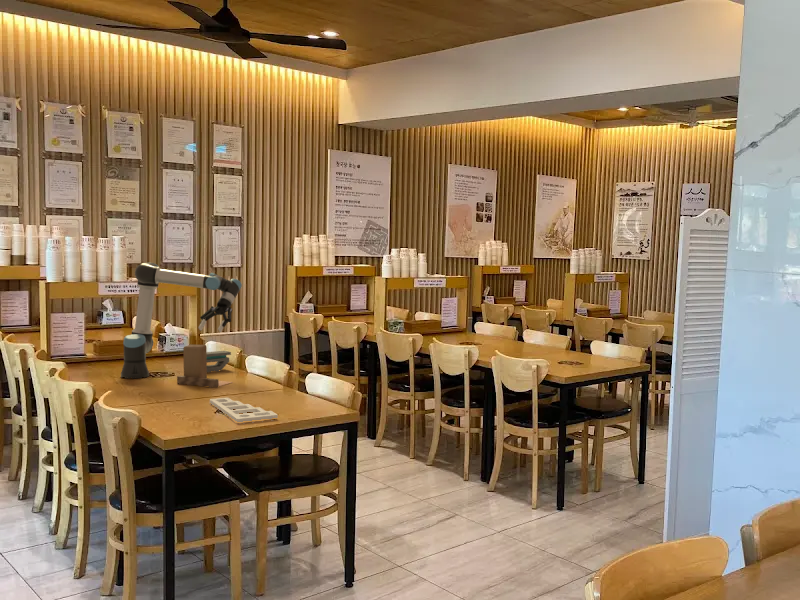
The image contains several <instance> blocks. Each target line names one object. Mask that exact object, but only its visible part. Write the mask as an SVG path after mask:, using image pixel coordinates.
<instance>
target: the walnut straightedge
mask: <svg viewBox="0 0 800 600" xmlns="http://www.w3.org/2000/svg"><path fill="white" fill-rule="evenodd" d="M176 379H177V380H176V381H177V382H176V383H179V384H178V385H185V384H187V386H194V385H198V386H197V387H203V386H209V387H208V388H213V387H216V388H219V387H218V386H219V381H220V380H219V378H210V377H209V378H208V377H207V378H200V377H190V376H184V375H178V376H176Z"/></svg>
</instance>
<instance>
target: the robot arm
mask: <svg viewBox="0 0 800 600" xmlns="http://www.w3.org/2000/svg"><path fill="white" fill-rule="evenodd" d="M134 276H135V279H136V280H137V284H136V285H137V286H138V287H139V290H138V291H139V292H138V297H137V298H138V300H137V307H136V309H137V310H136V318H135V325H134V326H135V327H134V329H132V330H131V334H128V335H125V336H124V338H123V343H122V344H123V365H122V370H121V372H120V378H122V377H125V378H124V379H130V378H132V379H143V378H142V377H144V378H147V377H150V371H149V370H148V366H147V363H146V359H147V357H146V356H147V355H146V354H148V353H149V352H150V351H151V350H152V348H153V346H154V340H153V335H154V333H153V331H152V329H151V326H152V320H153V319H152V318H153V311H154V302H155V294H156V293H155V292H156V290H157V288H159V283H162V284H168V285H169V284H171V285H176V286H177V285H178V286H186V287H190V288H191V287H193V288H200V289H205V290H206V289H207V290H211V291H215V290H219V291H221V292H223V293H222V294H221V296H220V298H219V299H218V301H217V304H216V306H215V307H214V306H210V308H209V309H208V310H207V311H205V312H204V313H203V314H202V315H201V316H200V317H199V318H200V319H201V321H200V322H199V325H198V327H197V328H198V329H199V331H200V332H201V331H203V329H204V327H205V325H206V324H207V321H209V320H210V319H212V318H213V317H215V316H222V317H223V320H222V321H221V322H220V325H219V326H218V328H217V330H218V331H219V333H221V332H222V331H223V329H224V328H225V327H226V326H227V323H231V322H232V313H233V308H232V307H231V306H232V305H233V303H234V301H235V299H236V298H237V296H238V295H239V292H240V291H241V289H242V285H243V283H242V282H241V281H240V280H239V279H236V278H231V279H230V280H229V279H227V278H225V277H223V276H220V275H218V274H217V273H214V272H210V273H209V274H207V275H205V274H199V273H191V272H185V271H176V270H169V269H162V268H160V266H159V265H158V264H156V263H154V262H143V263H141V264H138V265H137V266H136V268H135V270H134Z"/></svg>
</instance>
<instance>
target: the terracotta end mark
mask: <svg viewBox="0 0 800 600" xmlns="http://www.w3.org/2000/svg"><path fill="white" fill-rule="evenodd" d="M229 383H231V384H233V383H234V382H233V381H224V380H219V386H220V387H223V386H226V385H225V384H227V385H230V384H229ZM222 385H223V386H222Z"/></svg>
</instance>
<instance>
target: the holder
mask: <svg viewBox="0 0 800 600" xmlns="http://www.w3.org/2000/svg"><path fill="white" fill-rule="evenodd" d="M210 403H211V404H212V405H214V406H215V407H217V408H218V409H219V410H221V411H222V412H224V413H225V414H227V415H228V416H229V417H231V418H232V419H234V420H235V421H237V422H243V421H252V420H261V419H272V418H278V414H277V413H275V412H274V411H273V410H265V409H264V408H263V407H260V406H258V407H254V406H253V405H251V404H249V403H243V402H241V401H240V400H233V399H231V398H230V397H218V398H210V399H209V404H210ZM211 404H210V405H211ZM212 405H211V406H212ZM215 407H214V408H215ZM233 409H236V410H233ZM219 410H218V411H219ZM247 412H253V413H247ZM239 413H243V414H239Z"/></svg>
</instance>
